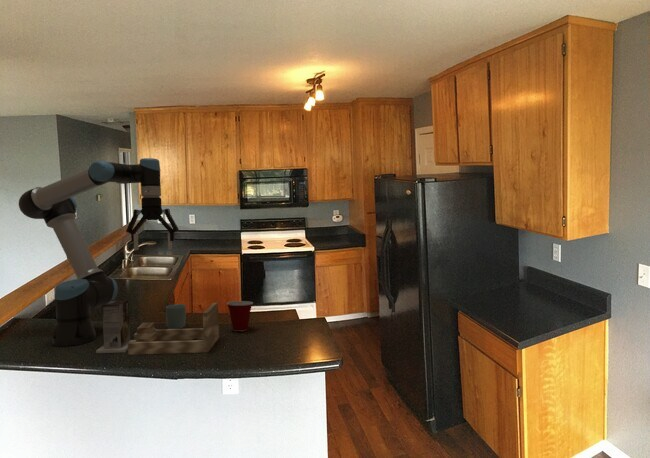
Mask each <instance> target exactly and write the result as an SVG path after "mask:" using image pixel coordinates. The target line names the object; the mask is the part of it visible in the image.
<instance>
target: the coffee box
mask: <svg viewBox="0 0 650 458" xmlns="http://www.w3.org/2000/svg"><path fill="white" fill-rule="evenodd" d="M101 307H102V326H103V328H102V330H103V346H104V349H112V348H122V347H123V346H124V345H126V344H127V343H128V342H129V341H130V340H131V331H130V330H131V328H130V310H129V309H130V307H129V299H114V300H111V301H109V302H107V303H105V304H103V305H102V306H101Z"/></svg>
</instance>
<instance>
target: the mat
mask: <svg viewBox="0 0 650 458" xmlns="http://www.w3.org/2000/svg"><path fill="white" fill-rule="evenodd" d="M129 342H136V340H134V339H130V341H129ZM129 342H128V343H129ZM128 343H127V344H126V345H124V346H123V347H122V348H112V349H104V345H102V346H100V347H99V348H98V349H96V351H95V353H96V354H108V353H109V354H111V353H112V354H117V353H118V354H119V353H126V352H128Z"/></svg>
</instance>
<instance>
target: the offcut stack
mask: <svg viewBox="0 0 650 458" xmlns="http://www.w3.org/2000/svg"><path fill="white" fill-rule="evenodd" d="M155 325H156V324H155V322H154V321H153V322H142V323H141V324H140V325H139V326H138V327H136V332H135V333H134V334H133V340H136V342H154V341H158V338H157V337H156V330H157V328H156V327H155Z"/></svg>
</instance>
